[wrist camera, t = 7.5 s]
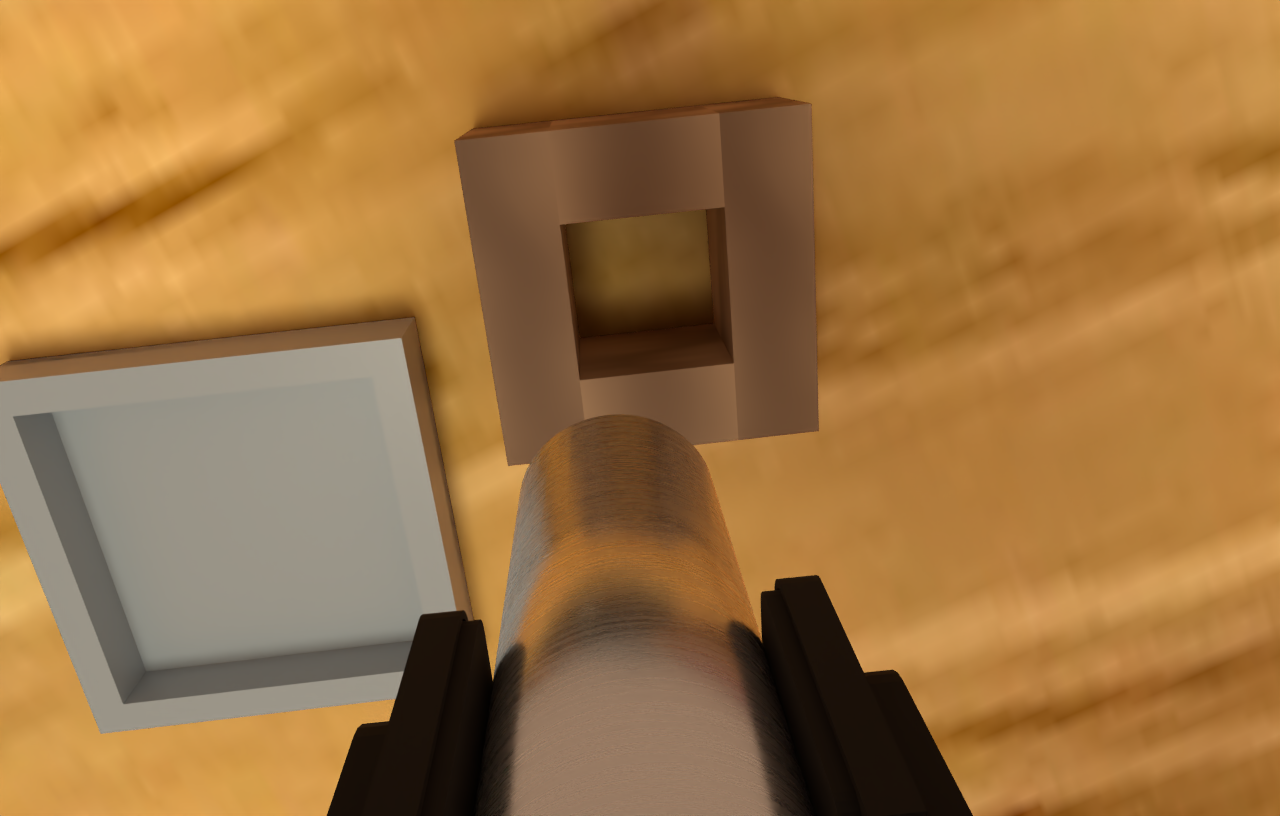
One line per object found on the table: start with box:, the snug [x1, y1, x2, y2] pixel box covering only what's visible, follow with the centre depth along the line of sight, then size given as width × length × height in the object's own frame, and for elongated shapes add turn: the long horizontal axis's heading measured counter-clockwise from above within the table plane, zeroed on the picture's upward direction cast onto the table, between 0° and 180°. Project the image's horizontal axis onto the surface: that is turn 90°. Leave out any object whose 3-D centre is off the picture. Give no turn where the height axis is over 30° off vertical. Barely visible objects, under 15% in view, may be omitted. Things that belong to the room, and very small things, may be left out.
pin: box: [474, 414, 815, 816], centre depth 11 cm, size 4×4×11 cm
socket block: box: [455, 97, 819, 466], centre depth 29 cm, size 10×10×4 cm
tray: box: [0, 317, 474, 734], centre depth 32 cm, size 14×14×2 cm
